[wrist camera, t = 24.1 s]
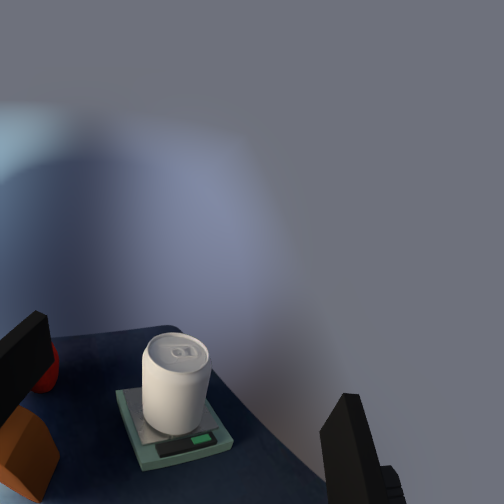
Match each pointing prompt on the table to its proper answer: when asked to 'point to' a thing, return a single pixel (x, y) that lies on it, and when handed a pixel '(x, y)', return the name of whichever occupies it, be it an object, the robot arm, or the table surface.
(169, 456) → the scale
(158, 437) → the weighing plate
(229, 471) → the table surface
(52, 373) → the apple
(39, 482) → the alarm clock
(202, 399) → the beverage can
